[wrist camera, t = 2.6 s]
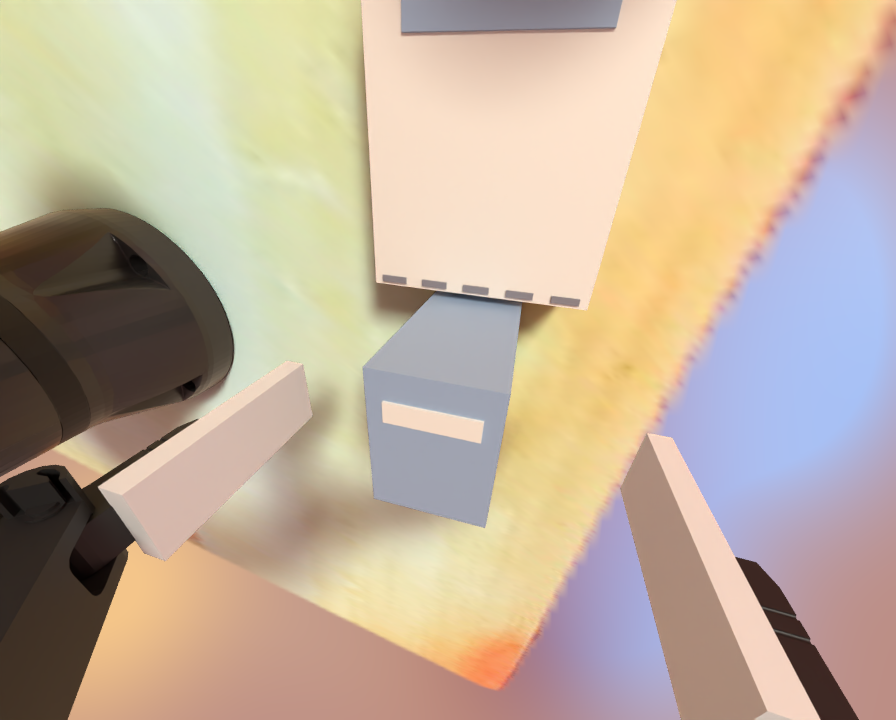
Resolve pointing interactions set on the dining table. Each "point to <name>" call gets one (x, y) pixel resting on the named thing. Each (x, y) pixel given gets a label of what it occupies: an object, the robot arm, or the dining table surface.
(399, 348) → the stub
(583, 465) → the dining table surface
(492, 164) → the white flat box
